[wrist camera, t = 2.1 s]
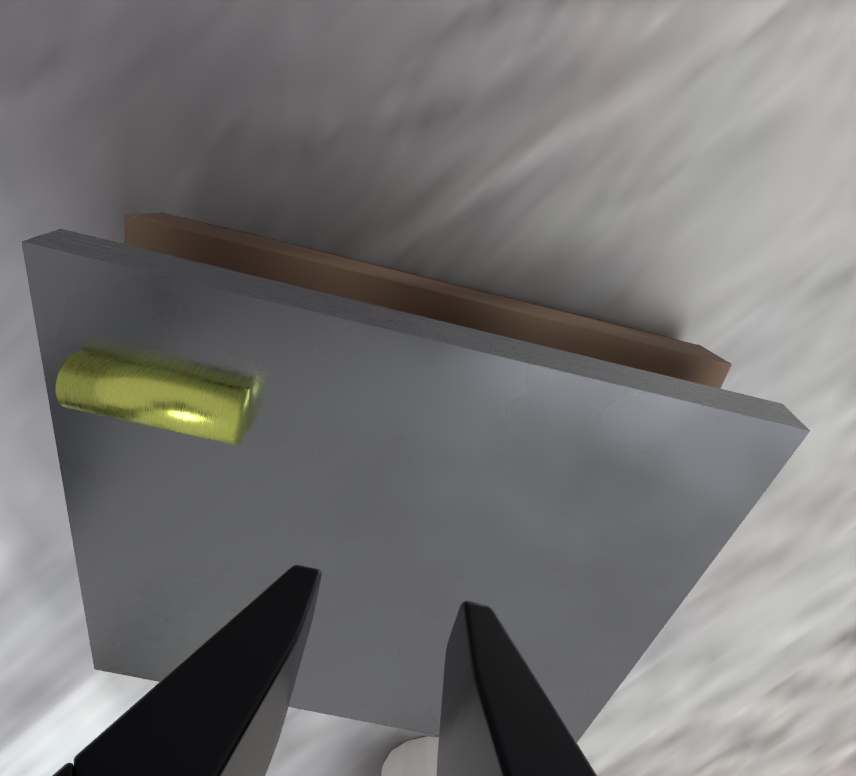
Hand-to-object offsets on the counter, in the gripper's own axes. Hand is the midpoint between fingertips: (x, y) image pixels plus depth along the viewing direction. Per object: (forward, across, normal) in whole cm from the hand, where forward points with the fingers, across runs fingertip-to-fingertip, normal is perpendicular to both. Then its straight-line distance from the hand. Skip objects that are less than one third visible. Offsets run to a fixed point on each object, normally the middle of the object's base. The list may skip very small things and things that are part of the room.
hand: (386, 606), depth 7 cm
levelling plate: (+8, 0, +5) cm, 9 cm away
